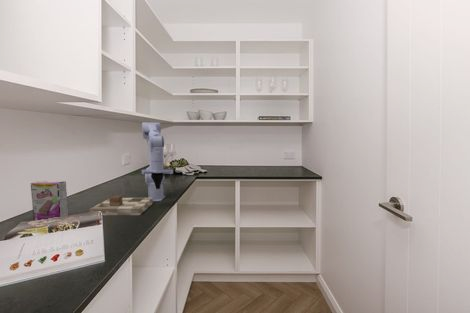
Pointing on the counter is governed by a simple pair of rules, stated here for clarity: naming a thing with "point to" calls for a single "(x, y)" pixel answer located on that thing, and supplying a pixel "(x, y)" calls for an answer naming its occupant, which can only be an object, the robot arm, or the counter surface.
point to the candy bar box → (49, 199)
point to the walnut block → (115, 200)
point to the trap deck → (124, 206)
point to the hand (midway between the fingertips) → (158, 188)
